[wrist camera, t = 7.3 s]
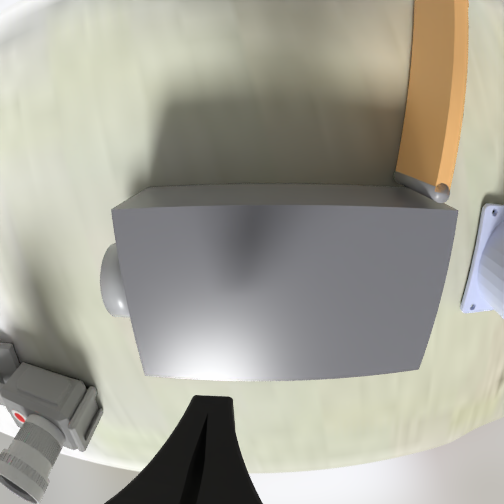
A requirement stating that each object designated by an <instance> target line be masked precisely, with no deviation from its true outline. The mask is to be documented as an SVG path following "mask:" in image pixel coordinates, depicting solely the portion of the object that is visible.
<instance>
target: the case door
mask: <svg viewBox="0 0 504 504" xmlns="http://www.w3.org/2000/svg"><path fill="white" fill-rule="evenodd" d="M468 7H469V3H468V0H415V3H414V30H413V46H412V58H411V69H410V79H409V88H408V96H407V104H406V111H405V118H404V125H403V131H402V137H401V143H400V149H399V155H398V160H397V165H396V171H395V173H394V179H395V181H396V182H397V183H399V184H401V185H403V186H405V187H407V188H409V189H411V190H413V191H416V192H418V193H420V194H422V195H424V196H426V197H428V198H430V199H432V200H434V201H436V202H438V203H444V202H446V201H447V200H448V198H449V195H450V187H451V182H452V178H453V173H454V168H455V163H456V157H457V152H458V146H459V140H460V133H461V126H462V119H463V111H464V102H465V92H466V80H467V64H468Z"/></svg>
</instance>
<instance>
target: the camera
mask: <svg viewBox="0 0 504 504" xmlns="http://www.w3.org/2000/svg"><path fill="white" fill-rule="evenodd" d="M96 395H97V391H96V388H95V387H93V386H90V387H89V388H88V390H87V389H86V387H85V385H84V383H83V381H80V380H77V379H73V378H70V377H67V376H64V375H60V374H57V373H54V372H51V371H48V370H45V369H42V368H39V367H37V366H34V365H31V364H28V363H24V362H22V363H21V365H20V364H19V361H18V358H17V356H16V353H15V350H14V347H13V344H11V343H3V342H0V405H4V406H6V408H7V410H8V411H9V412H10V414H11V416H12V417H13V419H14V421H15V423H16V424H17V426H18V427H20V428H21V429H20V430H19V432H18V433H17V435H16V437H15V438H14V440H13V441H12V443H11V445H10V447H9V448H8V449H4V450H3V451H2V452H1V454H0V483H1V484H3V485H4V486H5V487H6V488H8V489H9V490H10V491H12V492H13V493H15V494H16V495H18V496H19V497H21V498H23V499H24V500H26V501H28V502H31V503H33V504H40V502H41V499H42V497H43V495H44V493H45V491H46V489H47V486H48V484H49V479H48V476H49V474H50V471H51V469H52V467H53V465H54V463H55V461H56V459H57V457H58V455H59V453H60V451H61V449H62V447H63V446H65V447H67V448H70V449H73V450H75V449H79V451H82V452H83V451H85V450H86V448H87V446H88V444H89V442H90V440H91V437H92V435H93V433H94V431H95V429H96V427H97V425H98V423H99V420H100V418H101V416H102V414H103V411H102V408H101V409H99V408H98V405H97V402H96V399H95V397H96Z"/></svg>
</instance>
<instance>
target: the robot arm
mask: <svg viewBox="0 0 504 504" xmlns="http://www.w3.org/2000/svg"><path fill="white" fill-rule="evenodd" d="M493 210H494V213H493V214H492V212H493ZM472 304H473V305H472ZM471 305H472V306H471ZM460 309H461V311H462V312H463V313H473V312H480V311H488V310H495V311H496V312H497V313H498V314H499V315H500V316H501V317H502V318H503V319H504V205H500V204H490V203H487V204H485V205H484V206H483V208H482V212H481V219H480V225H479V230H478V236H477V241H476V246H475V251H474V256H473V260H472V264H471V269H470V273H469V277H468V281H467V285H466V289H465V292H464V296H463V299H462V303H461V307H460ZM104 504H263V503H262V502H261V500H260V498H259V496H258V494H257V492H256V490H255V487H254V485H253V483H252V481H251V479H250V477H249V474H248V471H247V469H246V466H245V463H244V460H243V458H242V455H241V451H240V448H239V445H238V441H237V437H236V433H235V421H234V409H233V399H232V398H231V397H223V396H201V395H195V396H194V397H193V398H192V400H191V402H190V404H189V406H188V408H187V410H186V411H185V413H184V415H183V417H182V418H181V420H180V422H179V423H178V425H177V426H176V428H175V429H174V431H173V432H172V434H171V435H170V437H169V438H168V440H167V441H166V442H165V444H164V445H163V446H162V448H161V449H160V450H159V452H158V453H157V454H156V455H155V457H154V458H153V459H152V460H151V461H150V463H149V464H148V465H147V466H146V467H145V468H144V469H143V470H142V471H141V472H140V474H139V475H138V476H137V477H136V478H134V480H132V481H131V482H130V483H129V484H128V485H127V486H126V487H125V488H124V489H122V490H121V491H120V492H119V493H118V494H117V495H115V496H114V497H113V498H111V499H110V500H108V501H107V502H106V503H104Z"/></svg>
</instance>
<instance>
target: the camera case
mask: <svg viewBox="0 0 504 504" xmlns="http://www.w3.org/2000/svg"><path fill="white" fill-rule="evenodd" d="M111 212H112V219H113V227H114V233H115V240H116V243H114V244H112V245H110V247H109V248H108V249H107V251H106V253H105V255H104V258H103V261H102V266H101V274H100V286H101V294H102V299H103V302H104V305H105V307H106V309H107V311H108V312H109V313H110V314H111V315H112V316H114V317H129V318H130V319H131V323H132V327H133V332H134V336H135V340H136V344H137V348H138V352H139V355H140V359H141V363H142V366H143V370H144V374H145V376H155V377H167V378H180V379H196V380H219V381H295V380H318V379H335V378H348V377H360V376H370V375H379V374H388V373H396V372H404V371H411V370H418V369H419V367H420V364H421V361H422V359H423V356H424V353H425V350H426V347H427V344H428V341H429V338H430V334H431V331H432V328H433V324H434V321H435V318H436V314H437V311H438V307H439V303H440V299H441V295H442V292H443V287H444V283H445V279H446V275H447V270H448V266H449V261H450V256H451V251H452V246H453V240H454V235H455V229H456V223H457V216H458V210H456V209H454V208H452V207H450V206H448V205H446V204H445V203H438V202H436V201H434V200H432V199H430V198H428V197H426V196H424V195H422V194H420V193H418V192H416V191H413V190H411V189H409V188H403V187H386V186H367V185H341V184H293V183H253V184H205V185H179V186H159V187H148V188H146V189H144V190H143V191H141V192H139V193H138V194H136V195H134V196H133V197H131V198H129V199H128V200H126V201H124V202H123V203H121V204H119V205H118V206H116V207H115V208H113V209H111Z"/></svg>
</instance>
